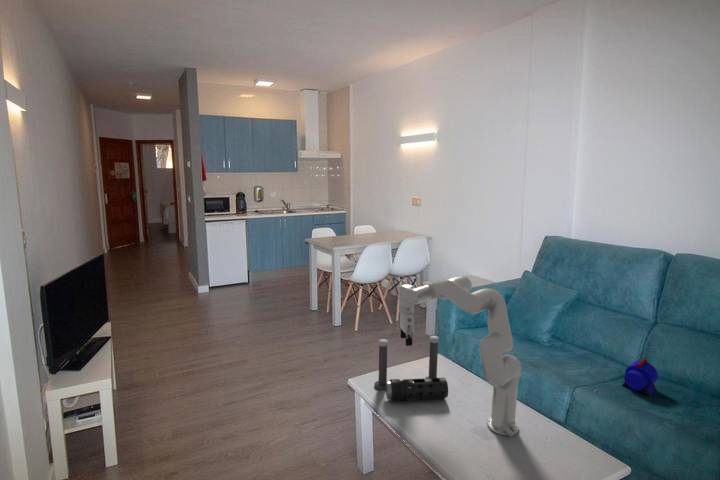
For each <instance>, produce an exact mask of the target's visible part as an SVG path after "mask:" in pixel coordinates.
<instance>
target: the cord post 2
mask: <svg viewBox="0 0 720 480" xmlns="http://www.w3.org/2000/svg"><path fill="white" fill-rule="evenodd" d="M439 338H440V337H439V336H437V335H430V336H429V356H428V357H429V359H428V360H429V361H428V376H425V378H438V377H437V376H438V354H439V353H438V352H439Z"/></svg>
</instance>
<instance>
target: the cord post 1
mask: <svg viewBox="0 0 720 480" xmlns="http://www.w3.org/2000/svg"><path fill="white" fill-rule="evenodd" d="M388 342H389V341H388V339H386V338H381V339H379V340H378V380H376V381H375V382H374V388H375V390H378V391H382V392H386V381H388V380H387V379H388V378H387V377H388V345H389V343H388Z"/></svg>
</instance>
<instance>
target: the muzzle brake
mask: <svg viewBox="0 0 720 480" xmlns="http://www.w3.org/2000/svg"><path fill="white" fill-rule="evenodd" d="M385 396H386V399H387V400H390V401H391V402H395V401H396V402H397V401H398V402H399V401H400V402H406V401H408V400H409V401H410V400H421V401H422V400H439V399H440V400H441V399H442V400H443V399H446V398H448V396H449V386H448V380H447V379H446V377H437V378H426V377H425V378H406V379H405V378H404V379H402V380H401V379H399V378H392V379H391V378H390V379H389V380H387V381H386V391H385Z"/></svg>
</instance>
